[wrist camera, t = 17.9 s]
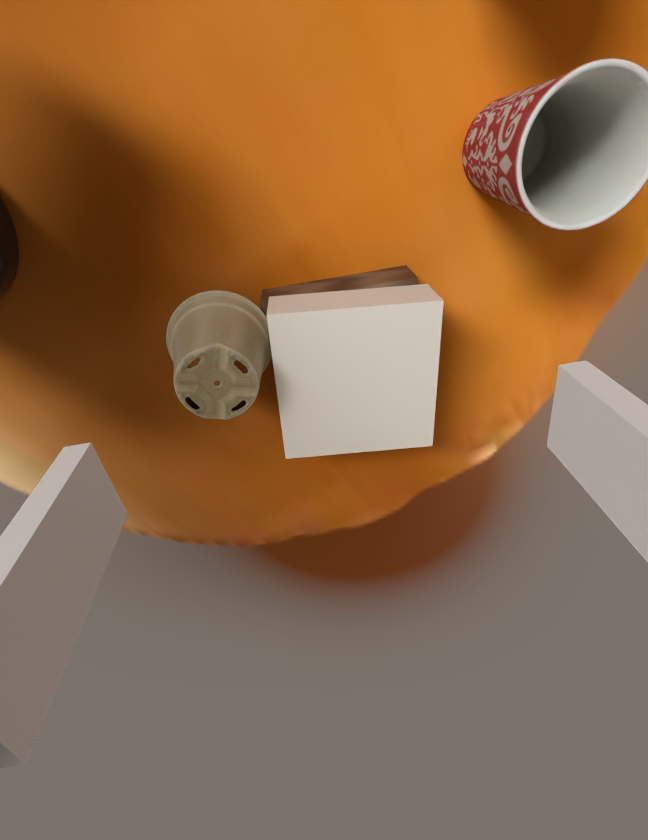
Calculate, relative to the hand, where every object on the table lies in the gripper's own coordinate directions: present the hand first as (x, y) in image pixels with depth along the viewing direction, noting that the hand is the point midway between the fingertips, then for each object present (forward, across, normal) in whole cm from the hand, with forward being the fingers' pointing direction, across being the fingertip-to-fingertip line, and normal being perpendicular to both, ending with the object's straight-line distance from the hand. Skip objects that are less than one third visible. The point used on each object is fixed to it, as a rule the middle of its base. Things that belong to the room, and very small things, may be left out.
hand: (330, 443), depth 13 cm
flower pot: (+20, -8, -7) cm, 22 cm away
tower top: (+29, +3, -11) cm, 31 cm away
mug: (+34, +20, +4) cm, 39 cm away
